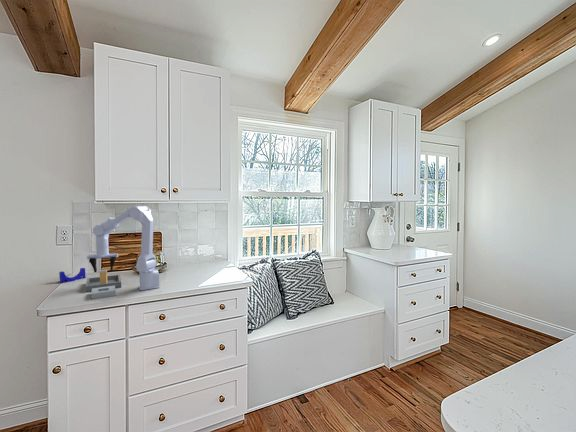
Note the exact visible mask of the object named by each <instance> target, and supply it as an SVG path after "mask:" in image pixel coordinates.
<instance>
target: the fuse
mask: <svg viewBox="0 0 576 432" xmlns="http://www.w3.org/2000/svg"><path fill="white" fill-rule="evenodd" d="M98 271H99V277H100V284H105V283H108V282H107V276H108V269H100V270H98Z"/></svg>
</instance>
